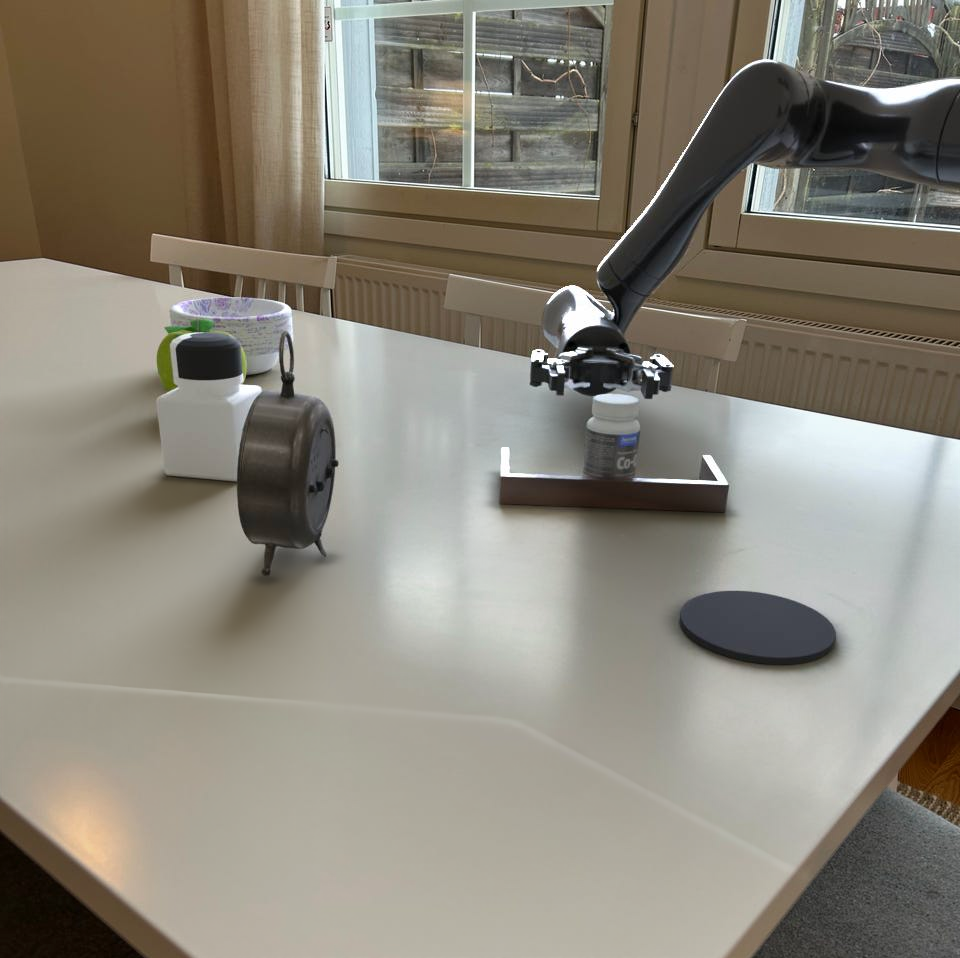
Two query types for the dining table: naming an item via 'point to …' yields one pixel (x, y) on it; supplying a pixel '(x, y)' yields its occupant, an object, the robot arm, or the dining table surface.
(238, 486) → the alarm clock
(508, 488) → the bracket
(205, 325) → the fruit
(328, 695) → the dining table surface
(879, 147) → the robot arm
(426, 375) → the dining table surface
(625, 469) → the pill bottle
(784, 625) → the coaster
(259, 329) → the white round bowl
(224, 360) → the medicine bottle
